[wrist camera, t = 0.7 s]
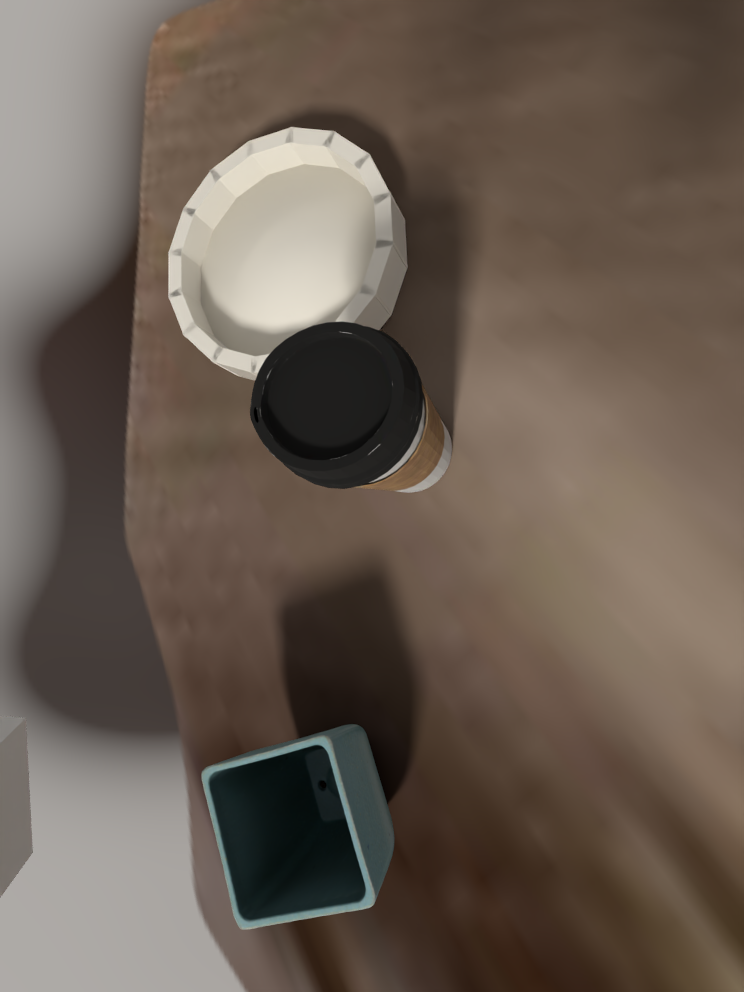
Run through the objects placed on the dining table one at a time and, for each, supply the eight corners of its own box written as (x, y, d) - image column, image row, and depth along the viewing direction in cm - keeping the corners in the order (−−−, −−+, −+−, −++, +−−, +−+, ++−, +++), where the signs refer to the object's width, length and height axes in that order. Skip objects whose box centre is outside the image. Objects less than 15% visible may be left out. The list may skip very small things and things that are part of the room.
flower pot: (306, 859, 41) (235, 933, 33) (273, 730, 43) (197, 769, 35) (423, 834, 39) (377, 908, 31) (381, 698, 41) (328, 733, 32)
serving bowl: (237, 148, 50) (212, 119, 47) (440, 171, 44) (428, 139, 40) (167, 356, 50) (138, 341, 47) (359, 410, 44) (341, 398, 40)
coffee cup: (345, 412, 44) (232, 340, 30) (456, 377, 42) (388, 281, 28) (367, 522, 43) (258, 500, 29) (483, 494, 40) (425, 454, 26)
